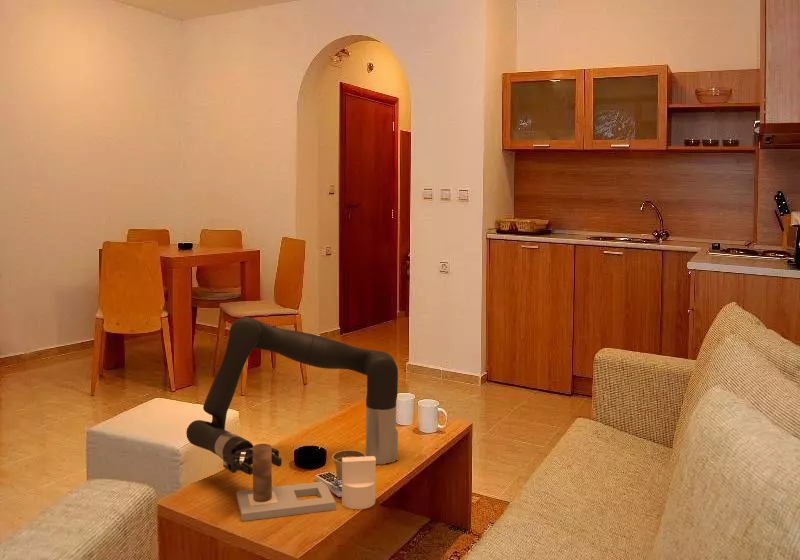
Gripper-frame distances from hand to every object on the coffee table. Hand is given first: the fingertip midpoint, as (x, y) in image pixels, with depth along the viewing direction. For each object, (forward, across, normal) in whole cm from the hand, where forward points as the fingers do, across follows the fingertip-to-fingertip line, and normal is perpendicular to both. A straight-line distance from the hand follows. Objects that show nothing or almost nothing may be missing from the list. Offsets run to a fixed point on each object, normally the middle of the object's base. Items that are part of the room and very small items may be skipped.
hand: (266, 466), depth 189 cm
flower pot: (+2, +26, +12) cm, 28 cm away
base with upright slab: (+12, +21, +12) cm, 27 cm away
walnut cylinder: (-2, 0, +9) cm, 9 cm away
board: (+1, +5, +12) cm, 13 cm away
